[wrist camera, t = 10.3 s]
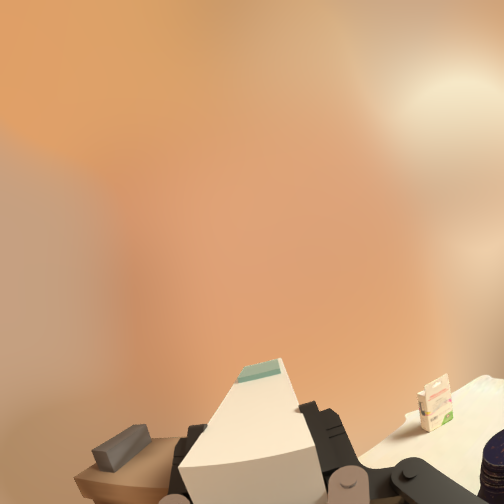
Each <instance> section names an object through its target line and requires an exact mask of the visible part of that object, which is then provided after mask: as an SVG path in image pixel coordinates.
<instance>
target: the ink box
mask: <svg viewBox="0 0 504 504" xmlns="http://www.w3.org/2000/svg"><path fill="white" fill-rule="evenodd" d="M436 382H438V383H436ZM435 383H436V384H435ZM417 397H418V404H419V411H420V419H421V427H422V429H424V430H426V431H428V432H431V431H433V430H435V429H436V428H438V427H440V426H441V425H443V424H445V423H446V422H448V421H450V420H451V419H453V412H452V401H451V392H450V384H449V381H448V375H447V374H445V375H443V376H441V377H439V378H437V379H436V380H434V381H432V382H431V383H429V384H427V385H425V386H424V391H421V392H419V393H417Z"/></svg>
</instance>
